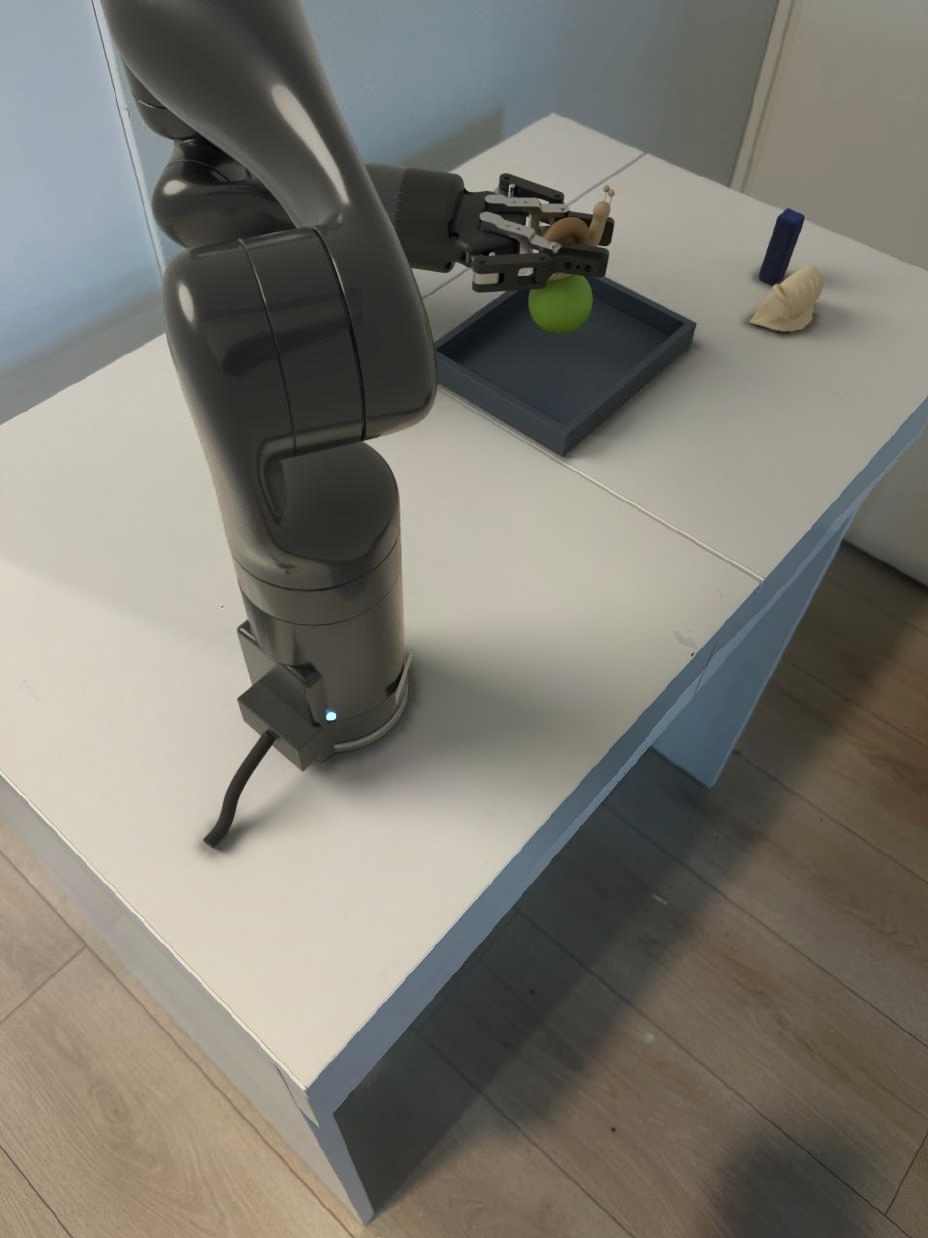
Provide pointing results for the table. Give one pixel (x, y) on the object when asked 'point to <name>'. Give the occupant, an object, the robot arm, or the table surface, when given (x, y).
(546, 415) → the tray
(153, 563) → the table surface
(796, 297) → the beige curved piece
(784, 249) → the eraser
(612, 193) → the snail figurine
